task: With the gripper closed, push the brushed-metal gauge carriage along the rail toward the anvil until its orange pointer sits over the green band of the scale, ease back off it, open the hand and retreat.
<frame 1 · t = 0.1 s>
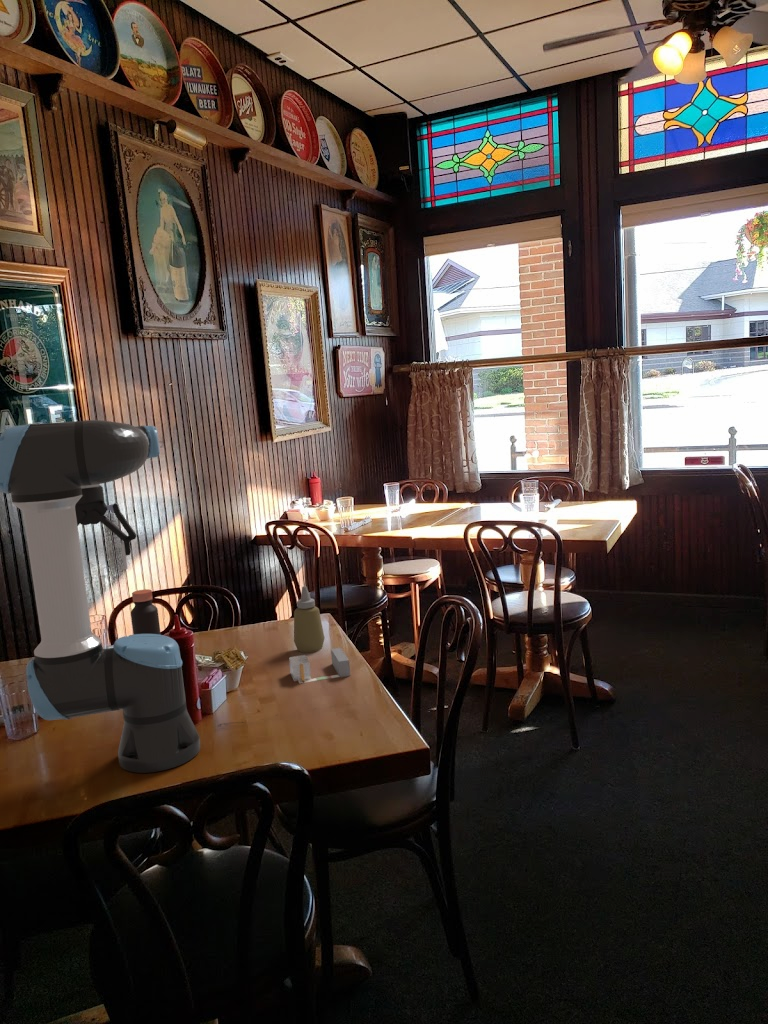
hand: (97, 572, 187), 28 cm above the table, fingers open, 13 cm apart
gauge carriage: (300, 668, 179), point 3 cm above the table, slide at 0.0 cm
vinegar: (150, 666, 201), on the table
squeeze bottle: (310, 653, 201), on the table
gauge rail: (315, 679, 181), on the table
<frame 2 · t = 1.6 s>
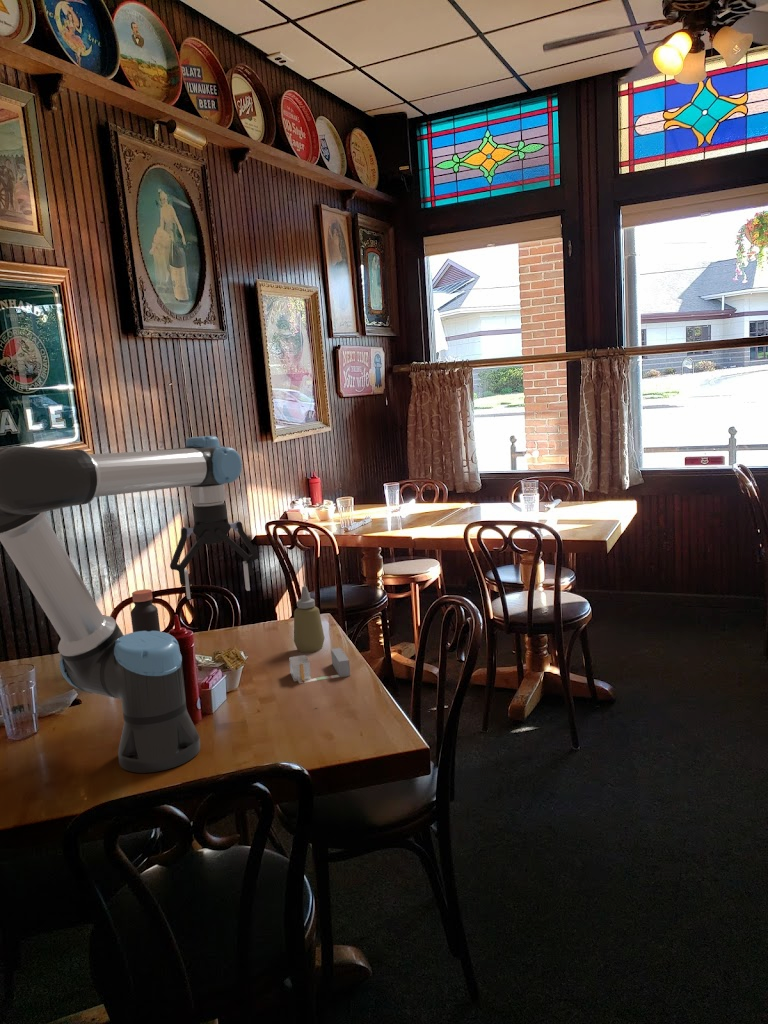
hand: (218, 593, 177), 23 cm above the table, fingers open, 13 cm apart
nothing on the table moved.
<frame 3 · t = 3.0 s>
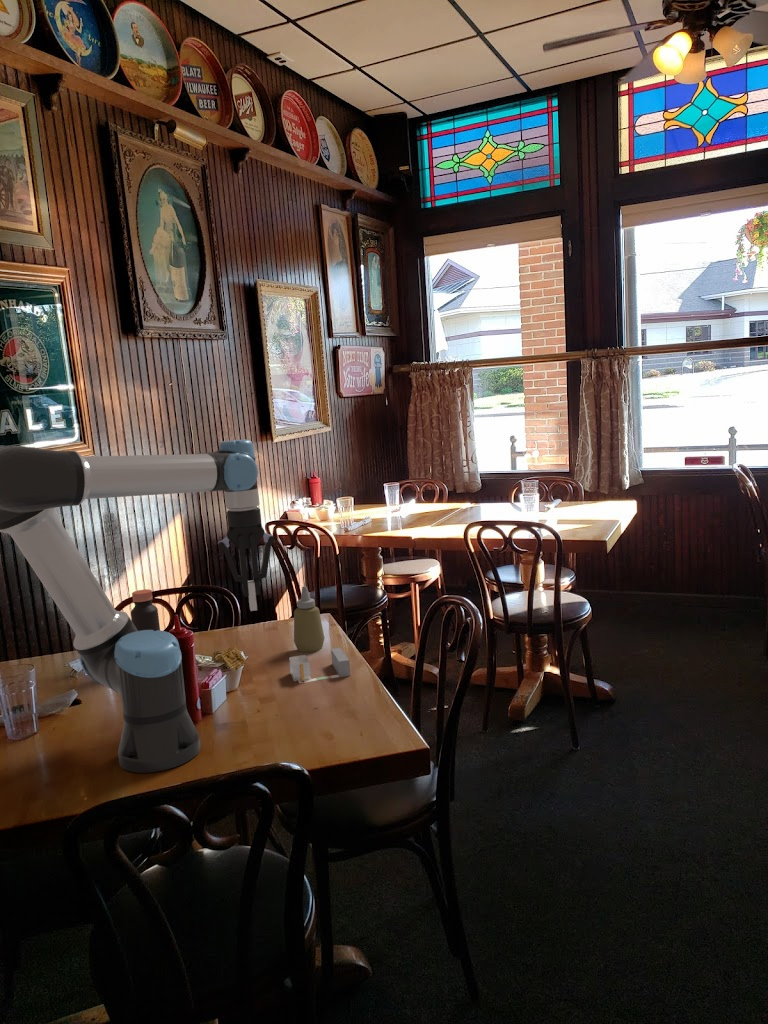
hand: (253, 609, 175), 19 cm above the table, fingers closed
nothing on the table moved.
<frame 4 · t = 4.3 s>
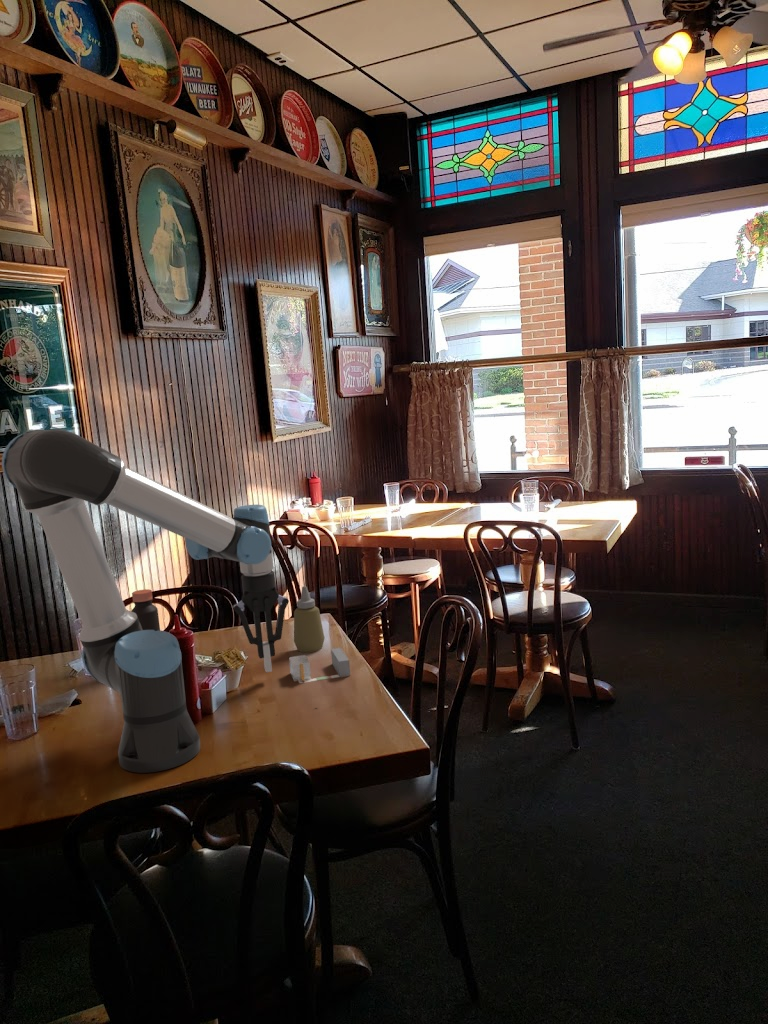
hand: (268, 670, 178), 4 cm above the table, fingers closed
nothing on the table moved.
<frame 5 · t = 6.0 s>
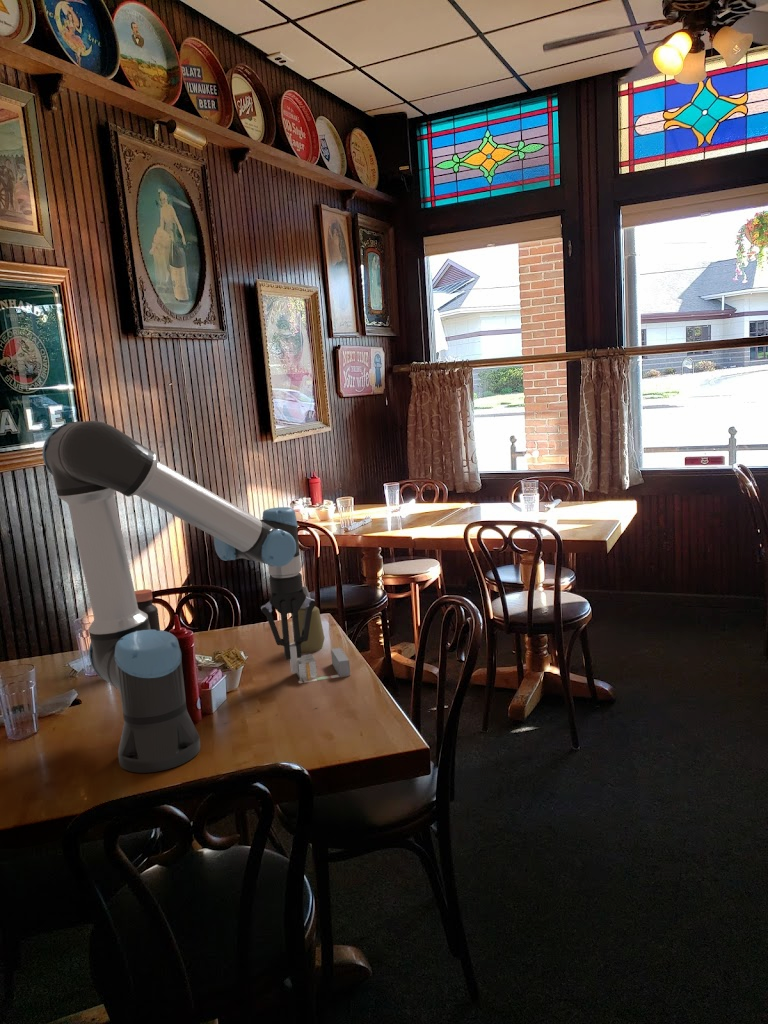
hand: (294, 671, 180), 3 cm above the table, fingers closed
gauge carriage: (306, 667, 180), point 3 cm above the table, slide at 1.5 cm, touching gripper
everything else where it was.
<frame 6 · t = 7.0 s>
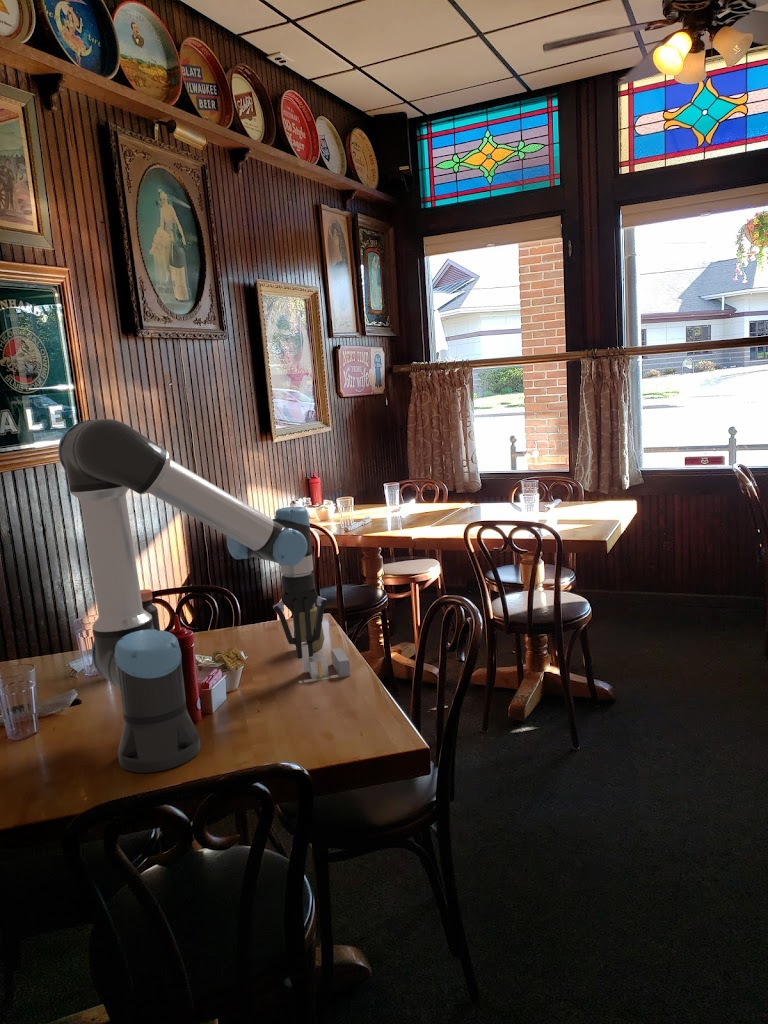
hand: (306, 670, 180), 3 cm above the table, fingers closed
gauge carriage: (317, 666, 180), point 3 cm above the table, slide at 4.2 cm, touching gripper
everything else where it was.
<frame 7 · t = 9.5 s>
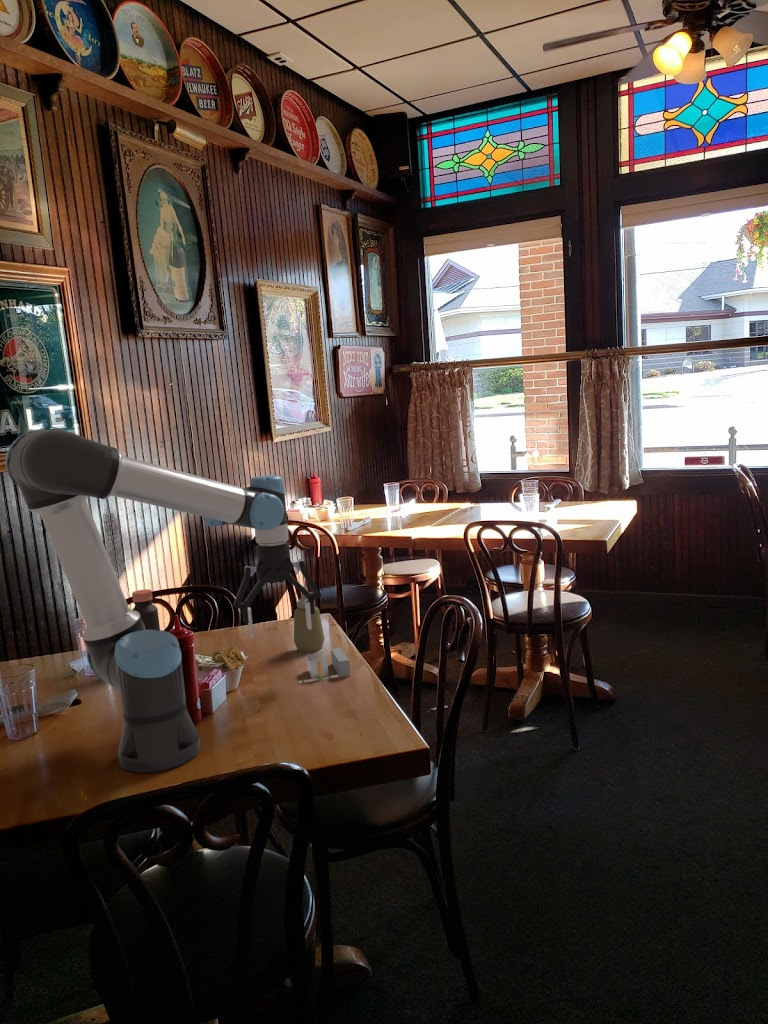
hand: (280, 632, 178), 13 cm above the table, fingers open, 13 cm apart
gauge carriage: (317, 666, 180), point 3 cm above the table, slide at 4.2 cm
everything else where it was.
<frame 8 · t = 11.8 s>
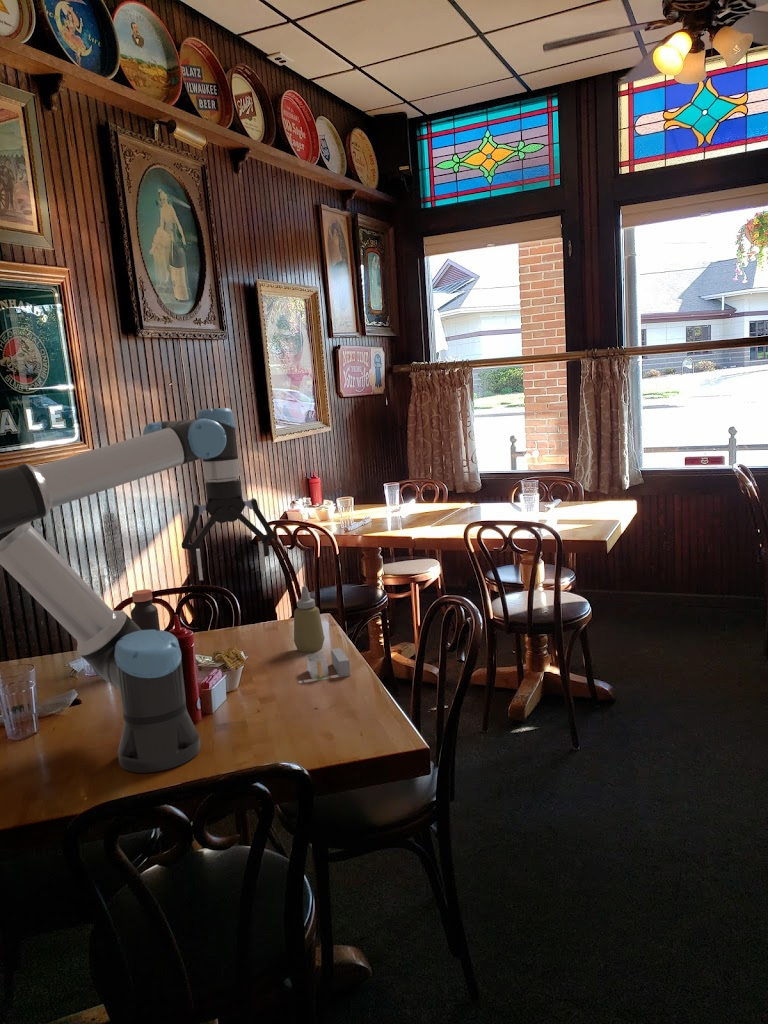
hand: (232, 575, 168), 29 cm above the table, fingers open, 13 cm apart
nothing on the table moved.
at the end: gauge carriage slide at 4.2 cm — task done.
